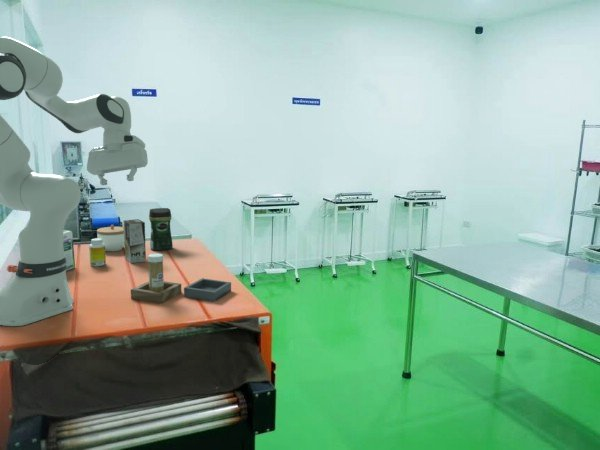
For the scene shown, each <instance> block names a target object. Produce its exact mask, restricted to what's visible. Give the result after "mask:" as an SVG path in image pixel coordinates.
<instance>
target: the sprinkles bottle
mask: <svg viewBox="0 0 600 450" xmlns="http://www.w3.org/2000/svg"><path fill="white" fill-rule="evenodd" d="M147 261H148V282H149V287H150V291H156V292H161V291H163V290H164V287H163V285H164V280H165V279H164V255H163V254H162V253H150V254H148V255H147Z"/></svg>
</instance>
